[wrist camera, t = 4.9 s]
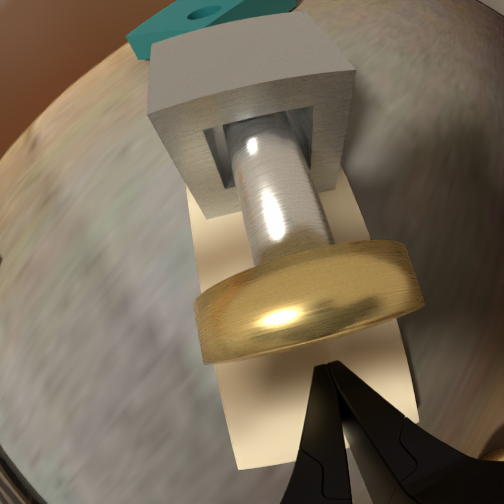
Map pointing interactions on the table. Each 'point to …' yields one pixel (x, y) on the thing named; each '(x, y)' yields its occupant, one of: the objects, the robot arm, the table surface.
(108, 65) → the table surface
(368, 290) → the shaft
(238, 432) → the board
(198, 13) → the teal saddle bracket
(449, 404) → the table surface
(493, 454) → the spacer
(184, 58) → the bearing block
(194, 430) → the table surface
